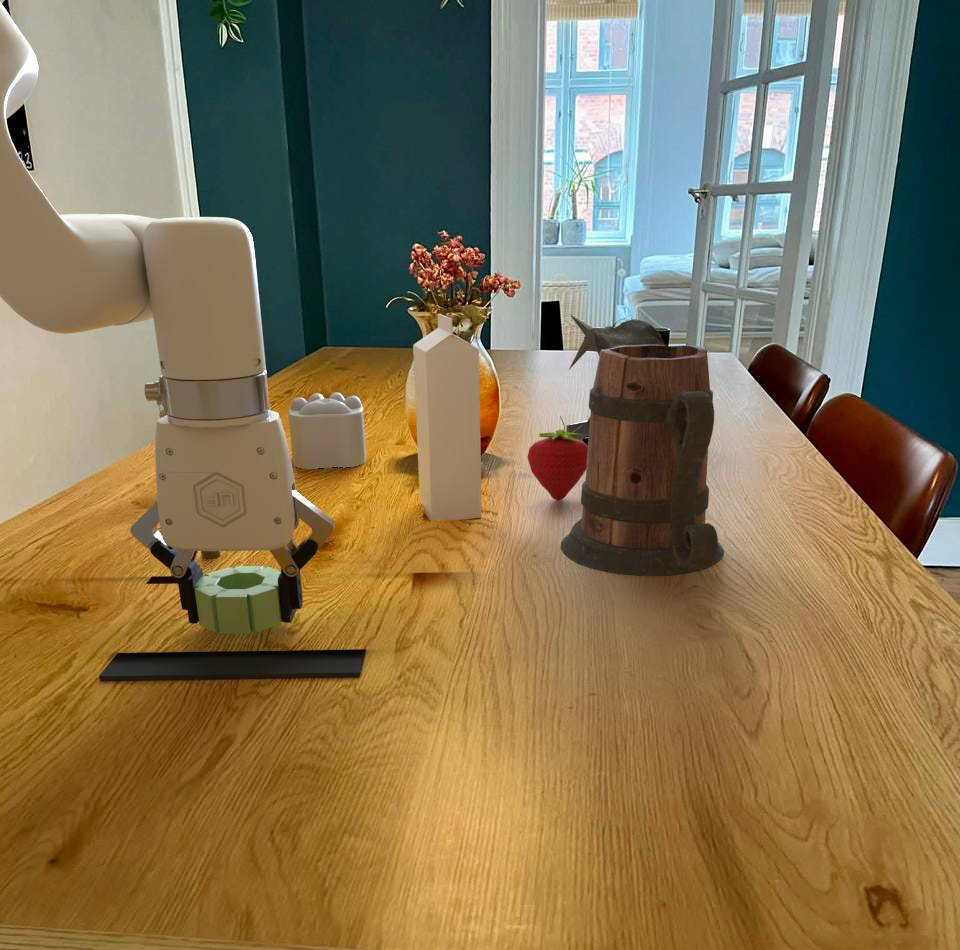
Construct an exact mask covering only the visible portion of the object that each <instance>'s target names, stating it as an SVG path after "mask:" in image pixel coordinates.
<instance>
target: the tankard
mask: <svg viewBox="0 0 960 950" xmlns="http://www.w3.org/2000/svg"><path fill="white" fill-rule="evenodd" d="M708 358H709V357H708V350H707V348H704V347H702V346H698V345H665V346H662V345H624V346H617V347H613V348H610V349H603V350H601V351H600V356H599V355H598V361H597V367H596V370H595V377H594V380H593V386H592V387H591V388H590V389H589V398H588V409H589V410H590V415H589V417H590V426H589V437H588V440H587V441H588V442H587V446H588V453H587V466H586V470H585V480H584V481H583V482H582V483H581V496H580V504H581V505H582V512H581V518H580V519H579V520H577V521H576V522H575V523H574V524H573V526H572V527H571V529H570V532H569V533H568V534H567V535H566V536H564V537H563V539H562V540H561V542H560V549H561V552H562V553H563V554H564V555H565V556H566V557H567V558H569V559H570V560H571V561H574V562H575V563H578V564H580V565H583V566H585V567H588V568H591V569H594V570H599V571H603V572H607V573H614V574H619V575H630V576H631V575H632V576H652V577H655V576H656V577H657V576H658V577H659V576H674V575H681V574H688V573H692V572H696V571H701V570H704V569H706V568H709V567H711V566H713V565H715V564H716V563H719V561H720V560H721V559H722V558H723V557H724V552H725V551H724V548H723V545H722V544H721V543H720V542H719V538H718V533H717V530H716V528H715V526H714V525H712V524H711V523H710V522H709V523H708V522H706V510H707V509H708V508H709V500H710V499H709V498H710V488H709V485H707V480H708V479H707V478H708V456H709V446H710V444H711V440H712V435H713V433H714V424H715V407H714V392H713V390H712V389H711V384H710V382H711V381H710V370H709V369H710V368H709V359H708Z"/></svg>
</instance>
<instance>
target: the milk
mask: <svg viewBox="0 0 960 950" xmlns="http://www.w3.org/2000/svg"><path fill="white" fill-rule="evenodd" d="M453 331H454V330H453V319H452V318H451V317H449V316H446V315H443V314H441V313H437V328H435V329H433V330H432V331H431V332H430V333H429V334H427V335H425V336H424V337H422V338H421V339H420V340H418V341H417V342H415V343H414V344H413V345H412V350H413V352H412V353H413V374H414V375H413V376H414V377H413V378H414V397H415V398H414V399H415V419H416V421H415V423H416V440H417V441H416V445H417V468H418V470H417V471H418V490H419V494H418V495H419V504H421V505H422V506H423V514H424V515H425V516H426V517H427V519H428V520H429V521H430V522H433V521H434V522H435V521H439V522H441V521H443V522H444V521H465V520H472V519H473V520H474V519H482V513H483V512H482V453H481V447H482V446H481V445H482V443H481V386H480V385H481V384H480V383H481V382H480V380H481V378H480V348H479V347H477V346H475V345H473V344H471V343H469V342H468V341H466V340H465V339H462V338H461V337H459V336H457V335H456V334H454V333H453Z"/></svg>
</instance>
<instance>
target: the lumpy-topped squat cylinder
mask: <svg viewBox="0 0 960 950" xmlns="http://www.w3.org/2000/svg"><path fill="white" fill-rule="evenodd" d="M287 416H288V417H287V418H288V427H289V438H290V447H291V460H292V466H293V467H294V468H296V467H297V469H300V468H301V469H300V470H319V469H318V468H324V469H333V468H332V467H338V468H337V469H340V468H339V467H343V468H342V469H347V468H346V467H351V468H355V466H356V467H360V466H362V465H364V464H365V463H366V461H367V448H366V433H365V415H364V407H363V405H362V402H361V399H360V398H359V397H358V396H356V395H349V396H348V397H346V398H345V397H344V396H343V395H342V393H340V392H336V391H335V392H332V393H331V394H330V395H329V397H327V398H326V397H324V395H323V394H321V393H318V392H315V393H313V394H312V395H310V396H309V398H308V400H306V399H305V398H303V397H295V398H293V399H292V400H291V402H290V404H289V409H288V412H287ZM359 465H360V466H359Z"/></svg>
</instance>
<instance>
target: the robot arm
mask: <svg viewBox="0 0 960 950" xmlns="http://www.w3.org/2000/svg"><path fill="white" fill-rule="evenodd" d="M5 1H6V0H0V298H1V299H2V300H3V301H4V302H5V303H6V305H8V306H9V307H10V308H11V309H12V311H14V312H15V313H16V314H17V315H18V316H20V317H21V318H23V319H24V320H25V321H26V322H27V323H29V324H31V325H32V326H34V327H36V328H38V329H41V330H44V331H46V332H50V333H55V334H61V335H62V334H63V335H67V334H78V333H82V332H89V331H93V330H99V329H103V328H107V327H112V326H115V327H116V326H124V325H129V324H133V323H139V322H144V321H149V320H153V325H154V331H155V332H154V333H155V338H156V339H155V340H156V347H157V353H158V359H159V367H160V373H161V375H160V376H159V378H158V380H155V381H154V382H146V383H145V384H144V390H143V391H144V397H145V399H146V400H147V402H156V403H157V402H158V403H161V406H162V407H163V410H164V412H167V415H166V416H164V417H162V418H160V417H159V418H158V419H157V420H156V423H155V425H156V426H155V439H154V440H155V442H154V443H155V444H154V445H155V447H154V455H155V456H154V458H155V459H154V460H155V463H154V464H155V483H156V484H155V485H156V500H157V501H156V502H155V503H154V504H153V505H152V506H151V507H149V508H148V509H147V511H146V512H145V513H143V514H142V515H141V516H140V517H139V518H138V519H137V520H136V521H135V522H134V523H133V524H132V525H131V526H130V527H129V532H130V534H131V535H132V536H133V537H134V538H135V539H136V540H137V541H138V542H140V543H141V545H143V546H144V547H145V548H147V549H148V550H149V551H150V554H151V555H152V556H153V557H154V558H155V559H157V560H158V561H159V562H160V563H162V564H163V565H164V566H165V567H166V568H167V569H169V572H170V574H171V576H174V577H176V578H177V580H178V584H177V587H178V592H179V599H180V605H181V609H182V610H183V611H187V618H188V623H189V624H190V625H191V624H198V623H199V617H198V610H197V603H196V596H195V585H196V584H197V582H198V581H199V579H200V578H201V577H202V576H204V572H203V568H202V567H201V566H200V564H197V561H196V559H197V557H198V553H199V552H201V551H220V552H253V551H254V552H256V551H257V552H258V551H261V552H263V551H269V552H270V553H271V554H272V556H273V558H274V560H275V561H276V563H277V564H278V566H279V567H280V572H281V573H280V575H279V577H278V588H279V598H280V607H281V617H282V621H284V622H283V623H285V624H290V623H292V622H293V620H294V617H295V616H296V613H297V611H298V610H301V609H302V607H303V604H304V603H303V601H304V599H303V598H304V597H303V588H302V577H301V570H302V569H303V567H305V566H306V565H307V564H308V563H309V562H310V561H311V559H312V558H314V556H316V554H317V552H318V551H319V550H320V548H322V546H323V545H324V544H325V543H326V541H327V540H328V539H329V538H330V537H331V535H332V534H333V533H334V530H335V529H336V522H335V520H334V519H333V518H332V517H330V516H329V515H327V514H326V513H325V512H323V510H321V509H320V508H318V507H317V506H315V504H313V503H311V501H309V500H308V499H306V498H305V497H304V496H303V495H301V494H300V493H299V492H298V491H297V485H296V480H295V474H294V469H293V462H292V457H291V454H290V448H289V444H288V440H287V437H286V436H287V435H286V433H285V429H284V426H283V422H282V420H281V416H280V414H279V412H277V411H274V410H271V405H270V394H269V384H268V372H267V366H266V355H265V345H264V334H263V324H262V322H263V321H262V314H261V304H260V294H259V283H258V273H257V264H256V253H255V247H254V241H253V240H254V239H253V235H252V234H251V232H250V230H249V228H248V227H247V225H245V223H243V222H242V221H240V220H238V219H236V218H233V217H232V218H231V217H224V216H223V217H222V216H221V217H219V216H182V217H180V216H179V217H163V218H153V217H149V216H144V215H143V216H142V215H136V214H127V213H102V214H101V213H63V214H62V213H58V211H57V210H56V209H55V207H54V206H53V204H52V203H51V202H50V200H49V199H48V197H47V196H46V195H45V193H44V192H43V191H42V189H41V188H40V186H39V185H38V183H37V182H36V181H35V179H34V177H33V176H32V174H31V173H30V171H29V169H27V167H26V165H25V164H24V162H23V160H22V159H21V157H20V155H19V153H18V151H17V149H16V147H15V144H14V143H13V140H12V138H11V134H10V132H9V128H8V123H7V120H8V118H10V117H11V116H12V115H13V114H15V113H16V112H17V111H18V110H19V109H20V108H22V106H23V105H24V104H25V103H26V102H27V101H28V99H29V98H30V96H31V95H32V93H33V92H34V89H35V87H36V85H37V82H38V79H39V63H38V58H37V56H36V54H35V52H34V50H33V48H32V46H31V44H30V43H29V42H28V40H27V39H26V37H25V36H24V35H23V32H21V30H20V28H19V27H18V26H17V24H16V23H15V21H14V20H13V18H12V16H11V15H10V14H9V12H8V11H7V9H6V8H5V6H4V5H3V4H4V2H5ZM300 521H302V522H303V523H305V524H306V526H307V525H308V527H309V528H311V532H310V534H309V535H308V536H307V537H306V538H305V539H304V540H303V541H302V542H301V543H300V544H299V545H297V543H296V542H295V540H294V539H293V537H294V534H295V530H297V529H298V527H299V525H300ZM158 524H159V529H160V531H159V529H158V528H157V525H158Z"/></svg>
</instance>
